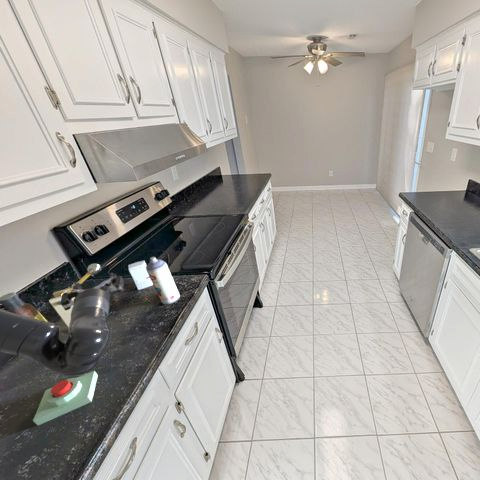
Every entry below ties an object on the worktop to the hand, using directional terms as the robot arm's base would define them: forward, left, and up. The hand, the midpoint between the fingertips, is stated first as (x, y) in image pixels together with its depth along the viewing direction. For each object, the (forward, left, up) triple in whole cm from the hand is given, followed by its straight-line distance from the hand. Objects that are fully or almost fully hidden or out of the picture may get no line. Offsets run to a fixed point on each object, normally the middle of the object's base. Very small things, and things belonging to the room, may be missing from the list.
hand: (96, 280), depth 81 cm
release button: (+3, -24, -18) cm, 30 cm away
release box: (+3, -24, -22) cm, 33 cm away
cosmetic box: (-8, +24, -22) cm, 33 cm away
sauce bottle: (-27, -4, -22) cm, 35 cm away
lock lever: (-11, +4, -6) cm, 13 cm away
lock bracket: (-17, +1, -22) cm, 28 cm away
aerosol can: (+8, +16, -22) cm, 28 cm away
